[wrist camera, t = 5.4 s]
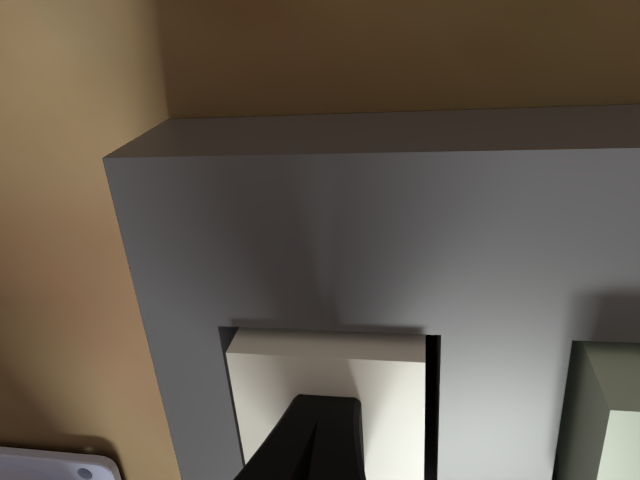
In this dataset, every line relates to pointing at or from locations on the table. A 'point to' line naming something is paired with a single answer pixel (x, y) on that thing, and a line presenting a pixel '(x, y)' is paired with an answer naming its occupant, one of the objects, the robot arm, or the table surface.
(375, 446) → the off-white button
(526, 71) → the table surface
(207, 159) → the button panel
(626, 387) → the sage button
